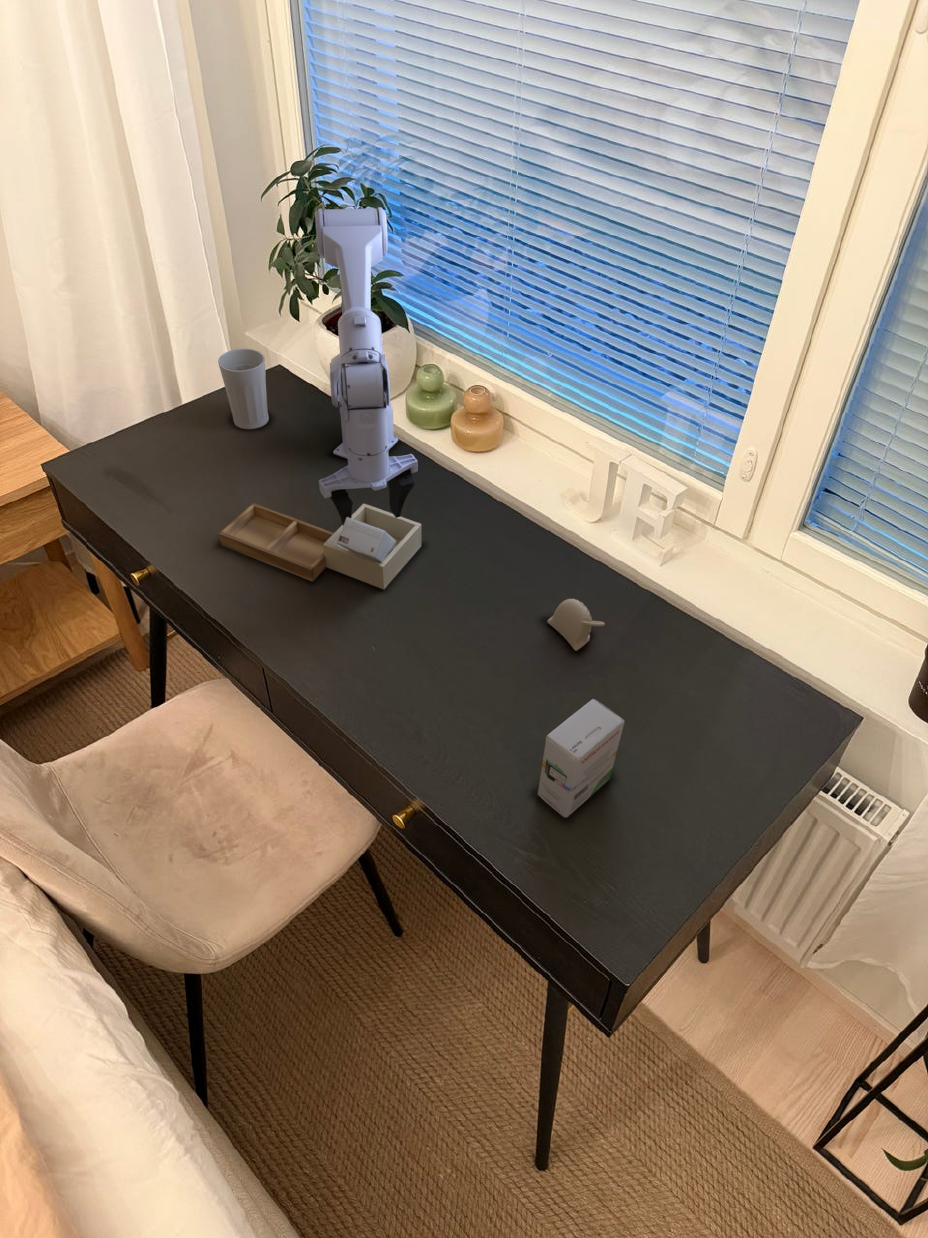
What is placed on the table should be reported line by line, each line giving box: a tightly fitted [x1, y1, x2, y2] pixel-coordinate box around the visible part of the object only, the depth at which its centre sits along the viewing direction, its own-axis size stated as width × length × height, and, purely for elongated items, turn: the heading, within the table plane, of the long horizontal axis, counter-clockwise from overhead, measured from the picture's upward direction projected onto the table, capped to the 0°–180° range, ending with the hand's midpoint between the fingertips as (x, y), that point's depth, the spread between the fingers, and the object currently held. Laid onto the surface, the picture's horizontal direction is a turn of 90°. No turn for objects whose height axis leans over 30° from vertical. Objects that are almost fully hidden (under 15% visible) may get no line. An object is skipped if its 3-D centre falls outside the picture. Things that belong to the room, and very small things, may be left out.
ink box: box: [537, 698, 626, 819], centre depth 105 cm, size 8×5×12 cm, turn 134°
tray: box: [218, 502, 335, 583], centre depth 138 cm, size 9×17×2 cm, turn 63°
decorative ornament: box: [546, 598, 606, 652], centre depth 125 cm, size 4×8×5 cm, turn 32°
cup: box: [217, 348, 270, 430], centre depth 159 cm, size 8×8×12 cm
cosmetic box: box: [337, 517, 396, 563], centre depth 130 cm, size 6×4×12 cm
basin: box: [323, 503, 422, 590], centre depth 136 cm, size 11×10×4 cm
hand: (371, 520), depth 133 cm, fingers open, 7 cm apart
